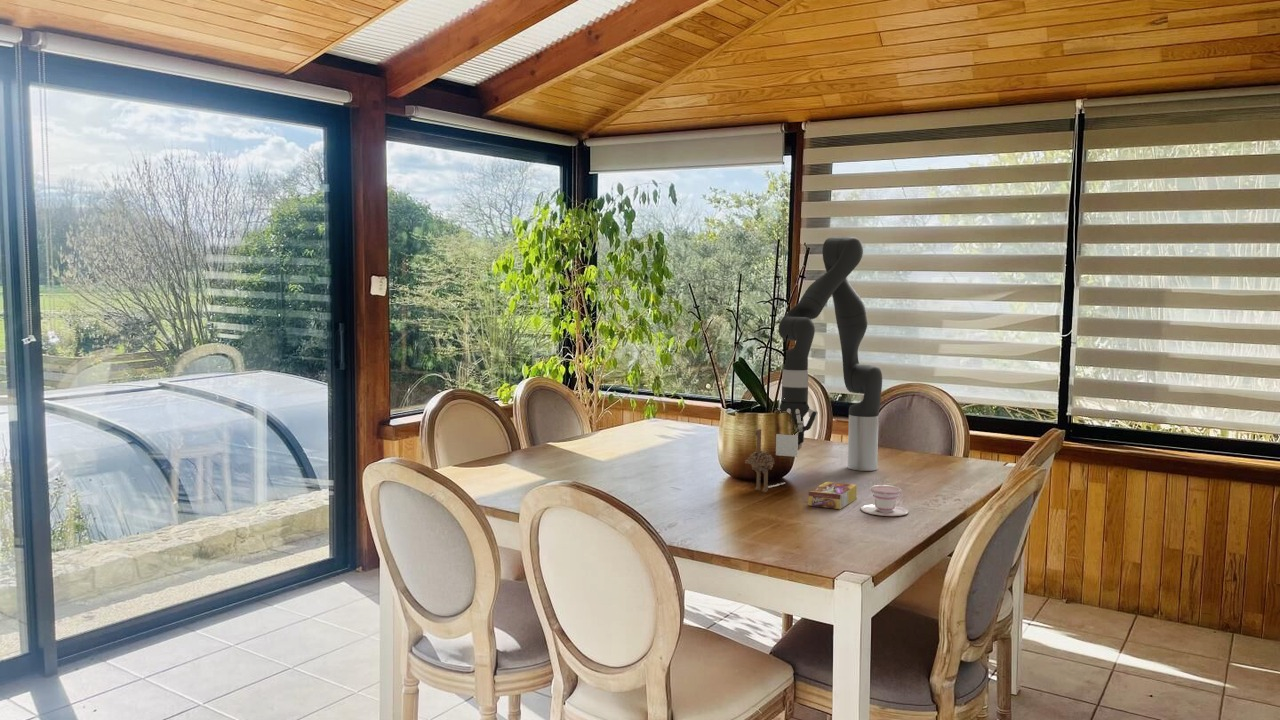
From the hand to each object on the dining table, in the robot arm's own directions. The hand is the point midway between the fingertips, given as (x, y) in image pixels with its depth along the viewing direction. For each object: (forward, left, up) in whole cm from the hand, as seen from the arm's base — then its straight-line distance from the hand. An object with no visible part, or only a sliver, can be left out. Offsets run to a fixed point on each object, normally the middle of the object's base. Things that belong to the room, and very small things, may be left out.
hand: (793, 443), depth 269 cm
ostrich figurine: (+8, -5, -13) cm, 16 cm away
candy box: (+11, +16, -11) cm, 22 cm away
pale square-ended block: (+3, 0, -2) cm, 3 cm away
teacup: (+23, +29, -13) cm, 39 cm away
